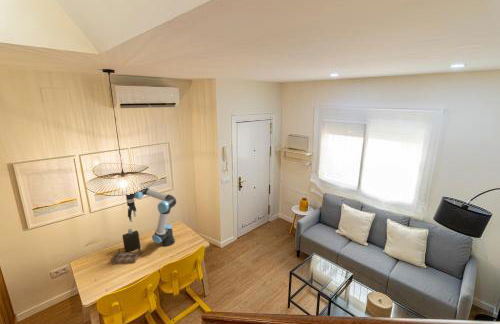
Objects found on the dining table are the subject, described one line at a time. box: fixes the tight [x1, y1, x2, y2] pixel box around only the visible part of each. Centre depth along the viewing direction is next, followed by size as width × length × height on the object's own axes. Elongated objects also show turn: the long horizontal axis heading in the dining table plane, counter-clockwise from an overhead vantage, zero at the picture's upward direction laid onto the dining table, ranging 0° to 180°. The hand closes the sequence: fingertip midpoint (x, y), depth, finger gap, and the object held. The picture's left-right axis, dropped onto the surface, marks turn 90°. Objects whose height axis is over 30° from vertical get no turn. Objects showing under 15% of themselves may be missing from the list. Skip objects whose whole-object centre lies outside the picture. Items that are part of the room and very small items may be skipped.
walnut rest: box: [110, 248, 142, 265], centre depth 262 cm, size 24×18×5 cm
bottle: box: [122, 228, 141, 252], centre depth 275 cm, size 8×16×25 cm, turn 128°
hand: (133, 219), depth 281 cm, fingers open, 12 cm apart
